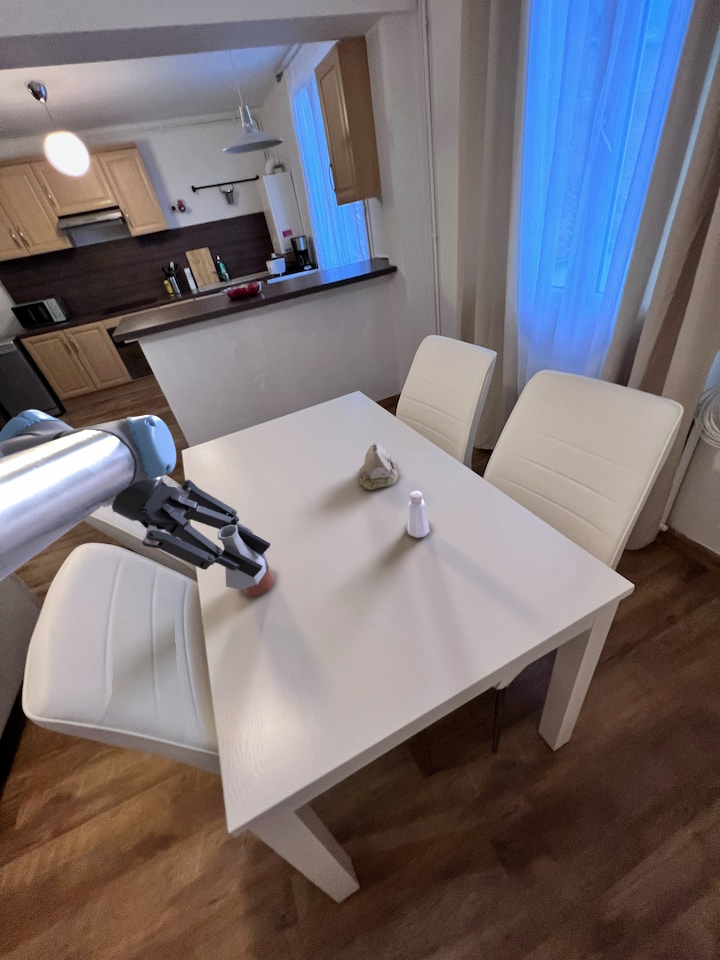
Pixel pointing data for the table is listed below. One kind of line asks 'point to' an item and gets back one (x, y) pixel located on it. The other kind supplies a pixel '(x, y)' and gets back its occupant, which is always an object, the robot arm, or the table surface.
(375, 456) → the ceramic model
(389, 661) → the table surface
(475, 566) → the table surface
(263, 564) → the flask
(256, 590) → the cup stack
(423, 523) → the pepper shaker
